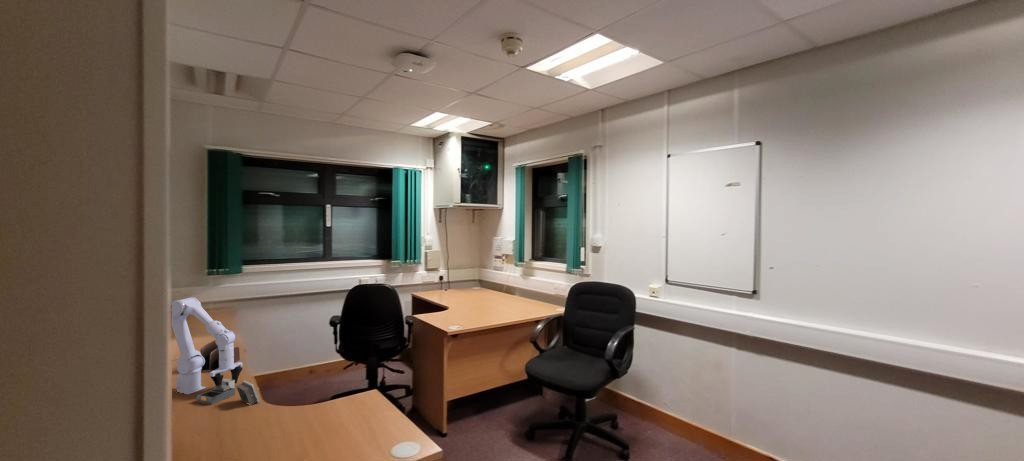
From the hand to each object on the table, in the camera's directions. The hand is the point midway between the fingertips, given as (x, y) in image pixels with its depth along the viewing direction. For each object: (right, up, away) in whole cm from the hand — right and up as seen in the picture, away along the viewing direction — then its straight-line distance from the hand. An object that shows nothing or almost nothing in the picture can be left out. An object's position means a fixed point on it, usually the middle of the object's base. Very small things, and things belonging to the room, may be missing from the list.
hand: (227, 386), depth 189 cm
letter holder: (-28, -2, +33) cm, 44 cm away
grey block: (0, -2, 0) cm, 2 cm away
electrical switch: (+19, -3, -13) cm, 23 cm away
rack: (+1, -2, -9) cm, 9 cm away
